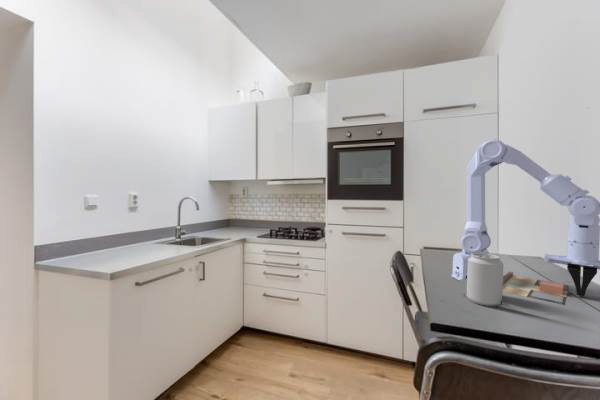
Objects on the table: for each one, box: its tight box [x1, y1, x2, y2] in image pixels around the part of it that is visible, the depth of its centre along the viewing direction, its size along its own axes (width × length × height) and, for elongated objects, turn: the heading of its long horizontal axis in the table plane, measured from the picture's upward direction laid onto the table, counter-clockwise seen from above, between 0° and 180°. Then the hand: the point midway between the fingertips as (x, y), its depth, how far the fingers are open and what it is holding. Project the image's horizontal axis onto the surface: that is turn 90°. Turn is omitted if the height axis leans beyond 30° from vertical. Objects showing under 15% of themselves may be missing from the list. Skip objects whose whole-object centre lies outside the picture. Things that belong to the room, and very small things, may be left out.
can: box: [466, 253, 504, 307], centre depth 70 cm, size 8×8×12 cm
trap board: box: [502, 271, 570, 306], centre depth 78 cm, size 14×22×3 cm, turn 134°
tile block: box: [539, 279, 565, 295], centre depth 75 cm, size 4×4×2 cm
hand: (580, 295), depth 71 cm, fingers closed
